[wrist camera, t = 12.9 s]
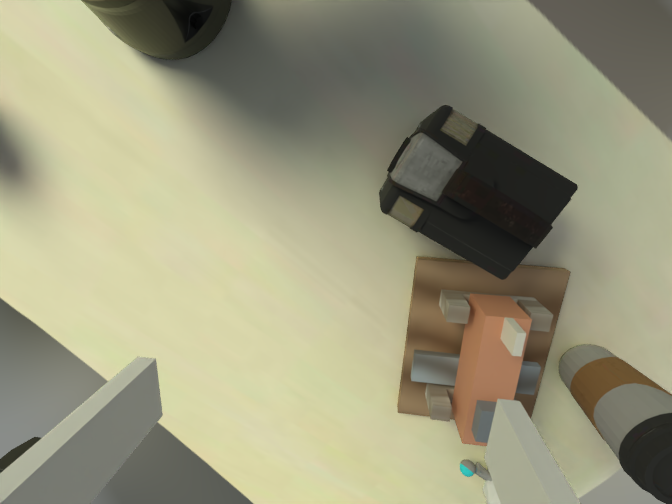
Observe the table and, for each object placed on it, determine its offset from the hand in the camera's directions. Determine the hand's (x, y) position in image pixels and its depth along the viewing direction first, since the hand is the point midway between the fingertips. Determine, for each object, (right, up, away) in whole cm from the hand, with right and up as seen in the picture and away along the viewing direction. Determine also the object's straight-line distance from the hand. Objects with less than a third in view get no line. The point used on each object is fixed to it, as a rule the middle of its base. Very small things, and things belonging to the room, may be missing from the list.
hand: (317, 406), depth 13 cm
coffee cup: (+32, -8, +29) cm, 44 cm away
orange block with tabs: (+18, -7, +28) cm, 34 cm away
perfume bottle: (+23, -24, +35) cm, 48 cm away
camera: (+13, +14, +25) cm, 31 cm away
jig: (+18, -6, +30) cm, 35 cm away
